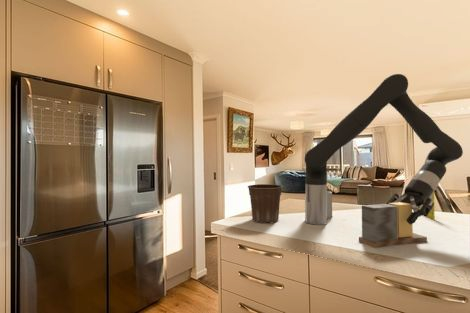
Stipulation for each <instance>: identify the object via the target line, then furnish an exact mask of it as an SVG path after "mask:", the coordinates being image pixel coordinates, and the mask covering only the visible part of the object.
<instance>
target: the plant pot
mask: <svg viewBox="0 0 470 313" xmlns="http://www.w3.org/2000/svg"><path fill="white" fill-rule="evenodd" d="M247 188H248V194H249V199H250V206H251V219H252V221H253V222H255V223H258V224H267V223H270V224H273V223H277V222H278V221H279V215H280V202H281V196H282V188H283V185H280V184H268V183H267V184H265V183H264V184H252V185H251V184H250V185H248V186H247Z"/></svg>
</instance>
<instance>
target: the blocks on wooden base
mask: <svg viewBox="0 0 470 313" xmlns="http://www.w3.org/2000/svg"><path fill="white" fill-rule="evenodd" d="M358 242H359V243H362V244H365V245H367V246H369V247H371V248H374V249H379V248H386V247H393V246H401V245H410V244H417V243H425V242H428V236H425V235H421V234H417V233H414V232H413V236H409V237H400V238H399V237H398V206H393V205H388V204H386V203H380V204H379V203H378V204H366V205H364V204H363V205H361V236H358Z"/></svg>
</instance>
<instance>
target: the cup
mask: <svg viewBox="0 0 470 313" xmlns="http://www.w3.org/2000/svg"><path fill="white" fill-rule="evenodd" d="M330 218H333V192H332V191H330V190H327V219H330Z"/></svg>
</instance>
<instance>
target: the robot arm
mask: <svg viewBox="0 0 470 313" xmlns="http://www.w3.org/2000/svg"><path fill="white" fill-rule="evenodd" d="M408 87H409V80H408V78H407V76H406V75H404V74H401V73H395V74H394V73H393V74H391V75H389V76H387V77H386V78H384V79H383V80H382V81H381V83H380V84H379V86H377V87H376V89H375V90H374V91H373V92H372V93H371V94H370V95H369V96H368V97H367V98H366V99H364V100H363V101H362V102H360V103H359V105H358V106H356V107H355V108H353V110H351V111H350V112H349V113H348V114H347V115H346V116H345V117H344V118H342V120H341V121H339V123H338V124H337V125H335V126H334V128H333V129H332V130H331V131H330V132H329V133H328V135H327V136H326V137H324V139H322V141H320V142H319V143H317V144H316V145H315V146H313V147H311V148H310V149H309V150H308V151H307V152H306V153H305V156H304V163H305V178H304V180H305V199H304V208H305V209H304V214H305V215H304V219H305V222H306V224H311V225H326V224H328V218H327V191H328V171H327V170H328V161H329V160H330V159H331V158H332V156H333V155H335V153H336V152H337V151H338V150H340V149H341V148H343V147H344V146H346V145H347V144H349V143H351V141H353V140H354V139H355V138H357V137H358V136H359V135H360V134H361V133H362V132H363V131H365V130H366V129H367V128H368V127H369V126H370V124H371V123H372V122H373V121H374V120H375V118H376V117H377V116H378V115H379V113H380V112H381V111H382V110H383V109H384V108H385V107H386V106H388V105H390V106H391V107H393V108H394V110H396V112H398V113H399V114H400V115H401V116H402V118H403V119H404V120H405V121H406V122H407V124H408V125H409V126H410V128H411V129H412V130H413V132H414V133H415V134H416V135H417V137H418V138H419V139H420V141H421V142H422V143H424V144H430V143H431V144H432V145H434V146H435V147H434V148H432V149H431V150H430V151H429V153H428V154H427V156H426V159H425V161H424V164H423V165H422V166H421V167H420V168H419V170H418V171H417V172H416V173H415V175H413V177H412V178H411V180H410V181H409V182H408V184H407V185H406V186H405V188H404V193H403V194H399V193H396V192H395V193H393V194H392V196H391V197H390V198H389V200H388V201H387V202H386V203H385V204H388V205H389V203H398V202H403V203H408V204H411V205H412V213H411V214H410V216H409V217H408V218H407V222H408V223H409V224H411V225H412V224H415V223H416V221H417V220H418V219H419V217H421V216H422V217H427V215H428V214H429V212H430V210H431V209H432V207H433V205H434V206H435V202H434V203H433V201H432V200H431V199H430V198H429V197H430V196H431V195H432V193H433V192H434V193H435V191H436V189H437V188H438V185H439V183H440V182H441V181H442V179H443V177H444V176H445V175H446V173H447V167H446V165H448V164H450V163H451V162H454V161H456V160H459V159H461V157H462V156H463V154H464V152H463V147H462V146H461V145H460V143H459V142H458V141H457V140H455V139H454V138H453V137H451V136H450V135H448V134H447V133H446V132H444V131H443V130H441V128H440V127H439V126H438V125H437V123H436V122H435V121H434V120H433V119H432V117H431V116H429V115H428V114H427V113H426V112H425V111H423V110H422V109H421V108H419V107H418V106H417V105H416V104H415V103H414V102H413V101H412V99H411V97H410V95H409V94H408V92H407V90H408ZM421 205H423V206H422V207H421V209H420V206H421Z"/></svg>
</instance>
